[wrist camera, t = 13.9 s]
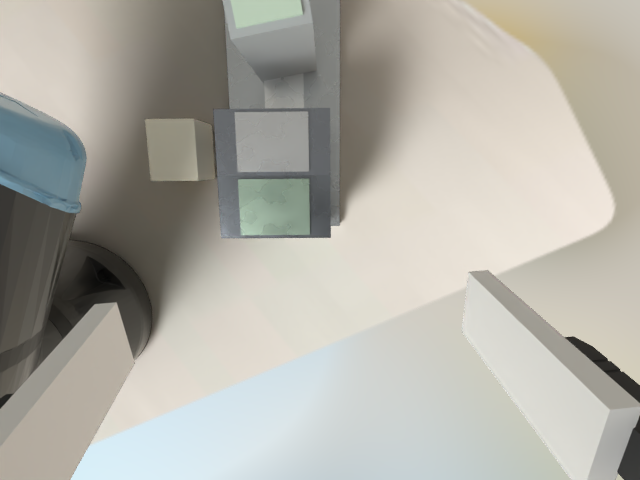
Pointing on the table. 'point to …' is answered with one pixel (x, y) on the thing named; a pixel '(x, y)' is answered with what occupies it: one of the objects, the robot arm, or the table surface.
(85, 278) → the robot arm
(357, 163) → the table surface
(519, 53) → the table surface
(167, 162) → the beige small block
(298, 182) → the grey l-shaped block
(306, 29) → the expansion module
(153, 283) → the table surface
